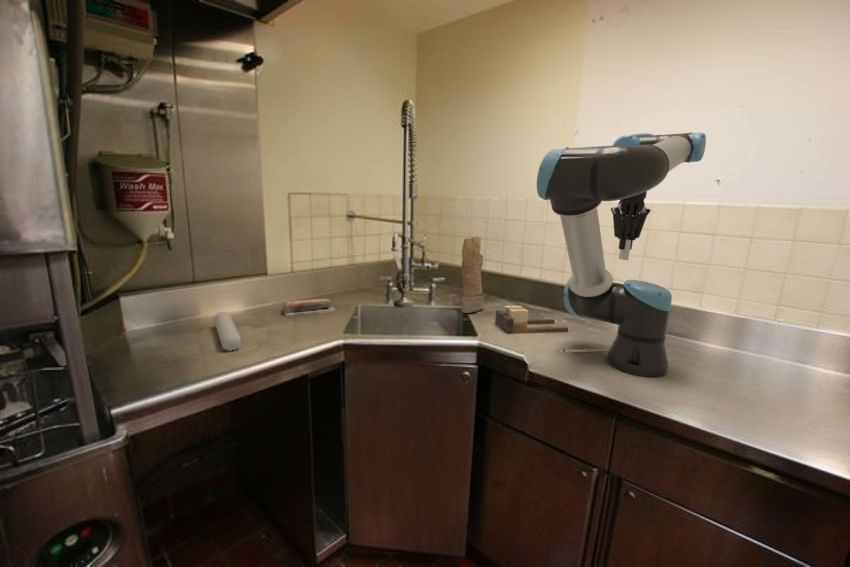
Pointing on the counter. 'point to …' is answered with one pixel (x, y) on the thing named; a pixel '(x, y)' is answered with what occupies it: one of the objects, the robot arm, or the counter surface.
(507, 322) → the guide channel
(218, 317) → the tube
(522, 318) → the block
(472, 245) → the glove
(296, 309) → the packaged product
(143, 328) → the counter surface
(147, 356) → the counter surface
